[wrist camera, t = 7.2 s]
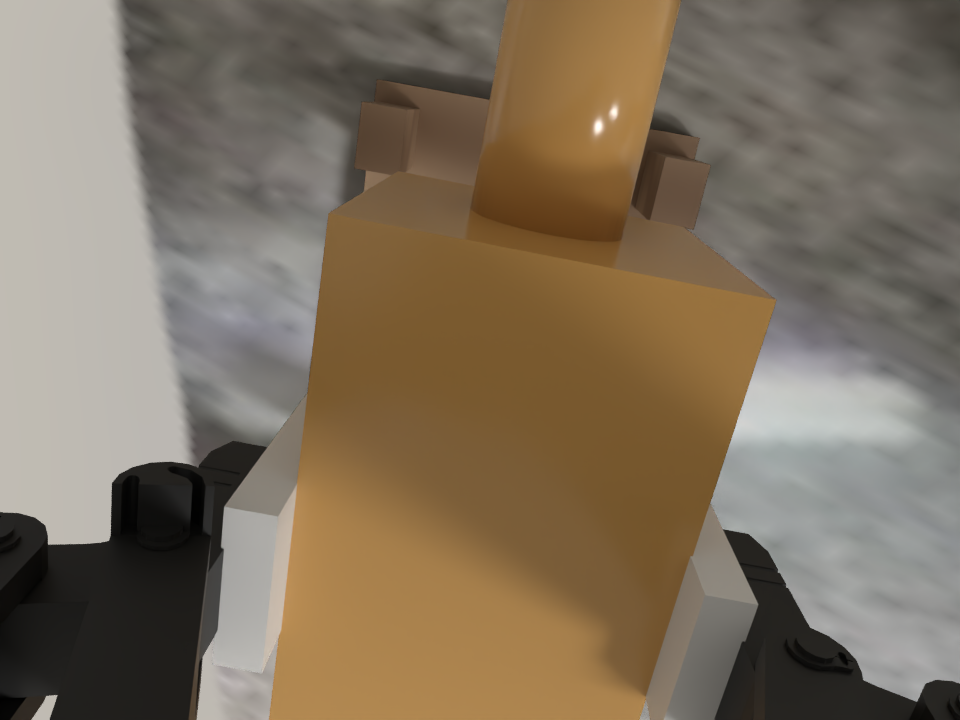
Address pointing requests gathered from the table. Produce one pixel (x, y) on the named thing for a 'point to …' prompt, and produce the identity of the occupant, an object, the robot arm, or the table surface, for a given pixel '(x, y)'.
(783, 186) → the table surface
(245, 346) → the table surface
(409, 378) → the amber bottle
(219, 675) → the table surface
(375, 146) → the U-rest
